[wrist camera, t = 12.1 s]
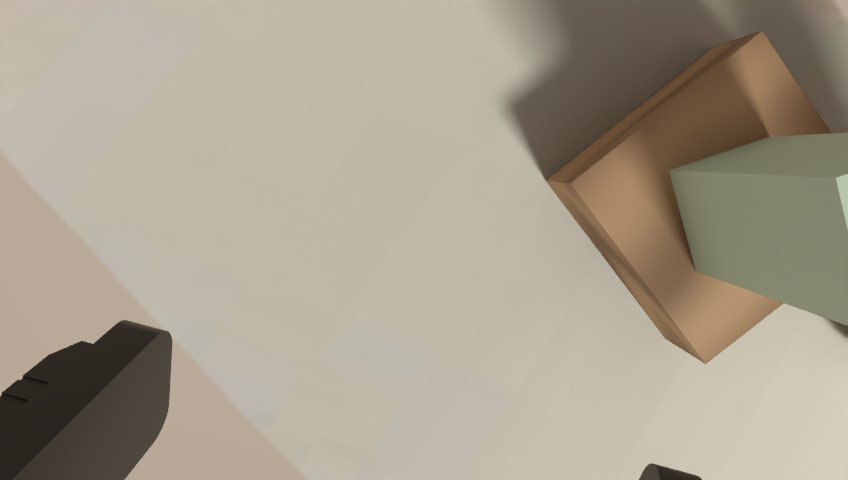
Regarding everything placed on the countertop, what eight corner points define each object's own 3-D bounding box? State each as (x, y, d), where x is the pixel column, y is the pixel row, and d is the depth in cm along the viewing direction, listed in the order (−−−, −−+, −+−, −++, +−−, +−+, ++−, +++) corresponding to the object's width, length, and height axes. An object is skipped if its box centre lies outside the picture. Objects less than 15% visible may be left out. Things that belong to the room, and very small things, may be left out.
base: (545, 180, 31) (570, 183, 27) (712, 47, 31) (762, 30, 27) (665, 338, 32) (705, 363, 28) (826, 212, 32) (889, 220, 28)
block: (695, 271, 28) (872, 334, 18) (668, 170, 27) (835, 177, 17) (794, 237, 28) (1024, 282, 18) (769, 136, 27) (993, 124, 17)
